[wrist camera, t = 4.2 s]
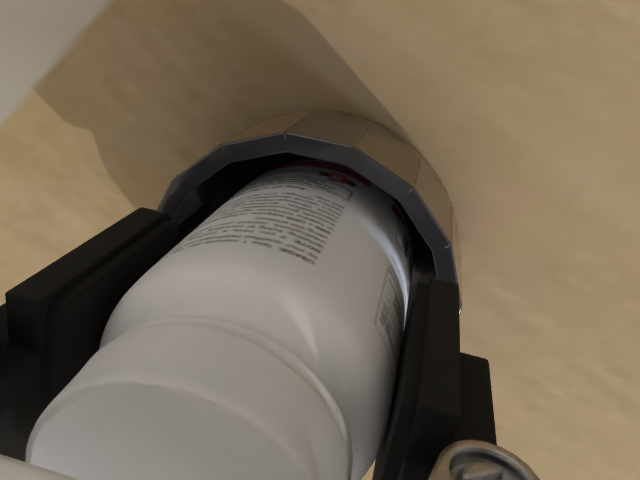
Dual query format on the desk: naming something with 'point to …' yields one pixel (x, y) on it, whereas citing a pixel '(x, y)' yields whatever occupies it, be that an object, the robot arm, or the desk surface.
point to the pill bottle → (249, 344)
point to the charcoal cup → (338, 147)
